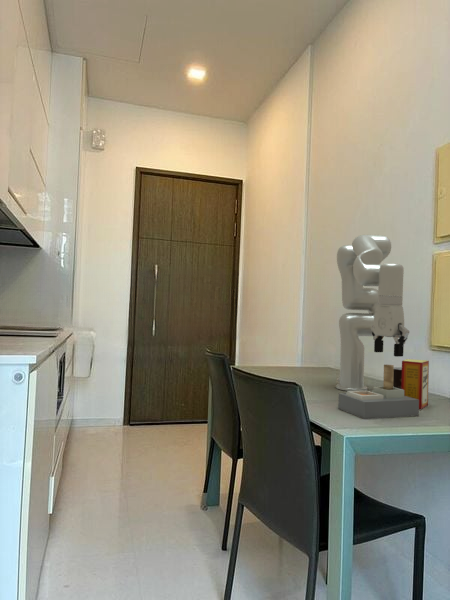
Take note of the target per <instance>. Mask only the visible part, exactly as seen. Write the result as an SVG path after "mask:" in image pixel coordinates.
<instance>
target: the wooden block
mask: <svg viewBox="0 0 450 600" xmlns="http://www.w3.org/2000/svg"><path fill="white" fill-rule="evenodd" d="M394 367H395V365H394V364H383V383H382V384H383V386H382V387H383V389H385V390H393V387H394V386H393V376H394Z"/></svg>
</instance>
